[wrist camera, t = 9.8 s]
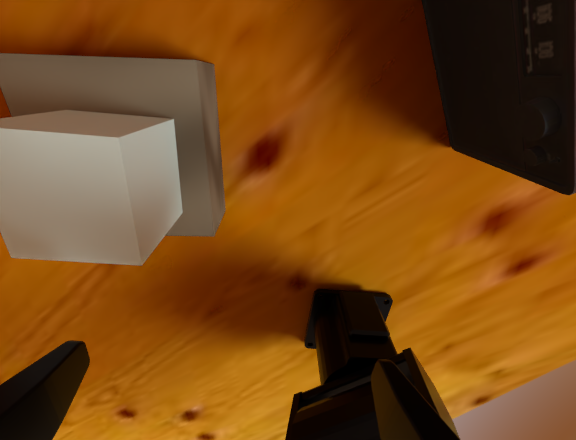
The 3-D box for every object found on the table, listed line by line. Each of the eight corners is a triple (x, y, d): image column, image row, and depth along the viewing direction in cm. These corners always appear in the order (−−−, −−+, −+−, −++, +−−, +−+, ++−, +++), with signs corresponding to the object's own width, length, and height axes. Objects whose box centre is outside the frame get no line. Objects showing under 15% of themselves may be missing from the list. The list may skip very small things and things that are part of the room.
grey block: (226, 208, 20) (214, 236, 16) (98, 205, 20) (57, 233, 16) (215, 64, 16) (196, 59, 12) (54, 59, 16) (-13, 52, 12)
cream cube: (182, 212, 16) (141, 265, 11) (90, 206, 15) (11, 258, 11) (173, 119, 13) (118, 137, 9) (66, 109, 13) (-46, 124, 9)
